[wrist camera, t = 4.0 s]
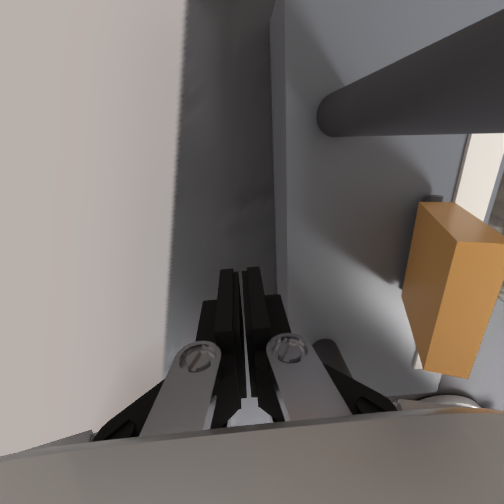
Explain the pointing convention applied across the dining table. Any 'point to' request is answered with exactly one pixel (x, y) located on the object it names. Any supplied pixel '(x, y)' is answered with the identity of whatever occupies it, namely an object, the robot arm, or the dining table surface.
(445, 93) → the dark gray rod
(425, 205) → the wooden plank tile
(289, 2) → the strip
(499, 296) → the beige rock sculpture
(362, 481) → the robot arm
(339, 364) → the dark grey cylinder
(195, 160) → the dining table surface
